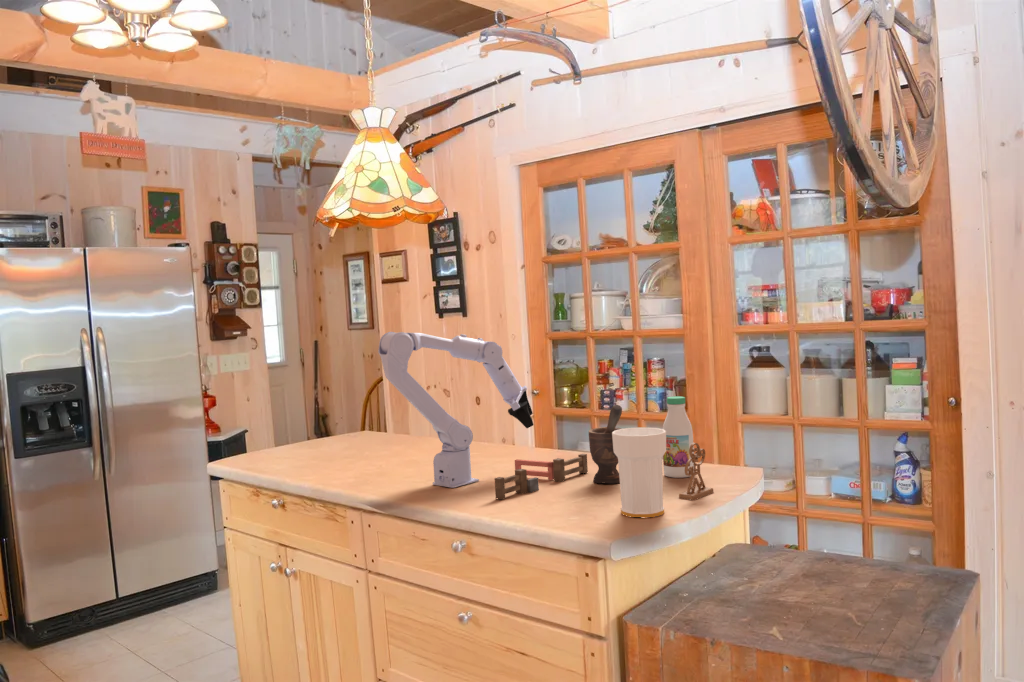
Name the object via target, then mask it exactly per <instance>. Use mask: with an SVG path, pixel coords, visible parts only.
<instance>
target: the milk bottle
mask: <svg viewBox="0 0 1024 682" xmlns="http://www.w3.org/2000/svg"><path fill="white" fill-rule="evenodd" d="M666 407H667V408H668V409H667V414H666V417H665V420H664V422H663V425H662V429H664V430H665V431H666V452H665V453H664V455H663V456H662V466H663V474H664V476H666V477H668V478H675V479H677V478H679V479H682V478H691V475H690V476H688V475H685V465H686V463H687V461H688V460H689V459H691V457H690V454H689V449H690V446H691V444H692V443H694V431H693V425H692V423H691V421H690V419H689V417H688V415H687V411H686V408H685V407H686V397H685V396H668V397H666ZM694 448H695V445H694V446H693V449H694ZM692 453H693V454H695V452H692ZM693 464H694V463H692V461H691V462H690V463H689V465H688V469H689V467H690V466H693V467H694V465H693ZM688 472H689V471H688Z"/></svg>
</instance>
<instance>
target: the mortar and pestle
mask: <svg viewBox="0 0 1024 682" xmlns="http://www.w3.org/2000/svg"><path fill="white" fill-rule="evenodd" d="M622 412H623V408H622V406H621V405H618V404H614V405H612V407H611V408H610V411H609V416H608V421H607V425H606V426H603V427H602V426H601V427H595V428H591V429H589V430H588V442H589V452H590V456H591V458H592V461H593V462H594V463H595V464H596V466H597V467H598V470H597V472H596V473H595V474H594V477H593V480H592V481H593V483H595V484H606V485H607V484H611V485H612V484H613V485H614V484H620V478H619V470H618V469H617V465H618V457H617V456H616V455H615V453H614V451H613V439H612V432H613V431H615V430H619V429H622V428H620V427H617V425H618V423H619V421H620V418H621V416H622V414H623V413H622Z"/></svg>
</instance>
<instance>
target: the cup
mask: <svg viewBox="0 0 1024 682" xmlns="http://www.w3.org/2000/svg"><path fill="white" fill-rule="evenodd" d="M612 439H613V451H614V453H615V455H616V456H617V457H618V464H617V465H618V472H619V478H620V483H619V487H620V489H619V490H620V501H621V508H620V514H621V515H622V514H624V515H627V516H631V517H653V518H655V517H654V516H658V517H660V516H659V515H661V516H663V515H664V514H665V507H664V496H663V495H664V494H663V493H664V490H663V489H664V488H663V487H664V486H663V485H664V484H663V483H664V482H663V480H664V479H663V455H664V453H665V452H666V431H665V430H664V429H663V428H659V427H648V426H647V427H643V426H642V427H641V426H640V427H626V428H621V429H619V430H615V431H613V432H612ZM663 513H664V514H663ZM662 514H663V515H662ZM624 515H623V516H624ZM627 516H626V517H627ZM631 517H630V518H631Z"/></svg>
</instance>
